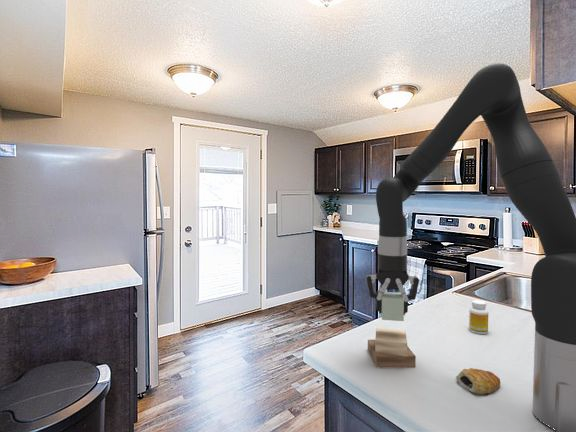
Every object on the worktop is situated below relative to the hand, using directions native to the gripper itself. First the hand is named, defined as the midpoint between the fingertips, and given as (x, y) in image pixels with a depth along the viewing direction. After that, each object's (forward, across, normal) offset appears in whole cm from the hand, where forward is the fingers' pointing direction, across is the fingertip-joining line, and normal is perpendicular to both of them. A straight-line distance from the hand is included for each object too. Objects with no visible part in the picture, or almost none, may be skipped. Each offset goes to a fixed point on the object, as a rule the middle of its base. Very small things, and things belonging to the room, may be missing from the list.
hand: (391, 312), depth 88 cm
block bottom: (+13, 0, 0) cm, 13 cm away
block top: (+10, 0, 0) cm, 10 cm away
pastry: (+13, +18, -10) cm, 25 cm away
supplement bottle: (+13, +30, +23) cm, 40 cm away
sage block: (+1, 0, 0) cm, 1 cm away
